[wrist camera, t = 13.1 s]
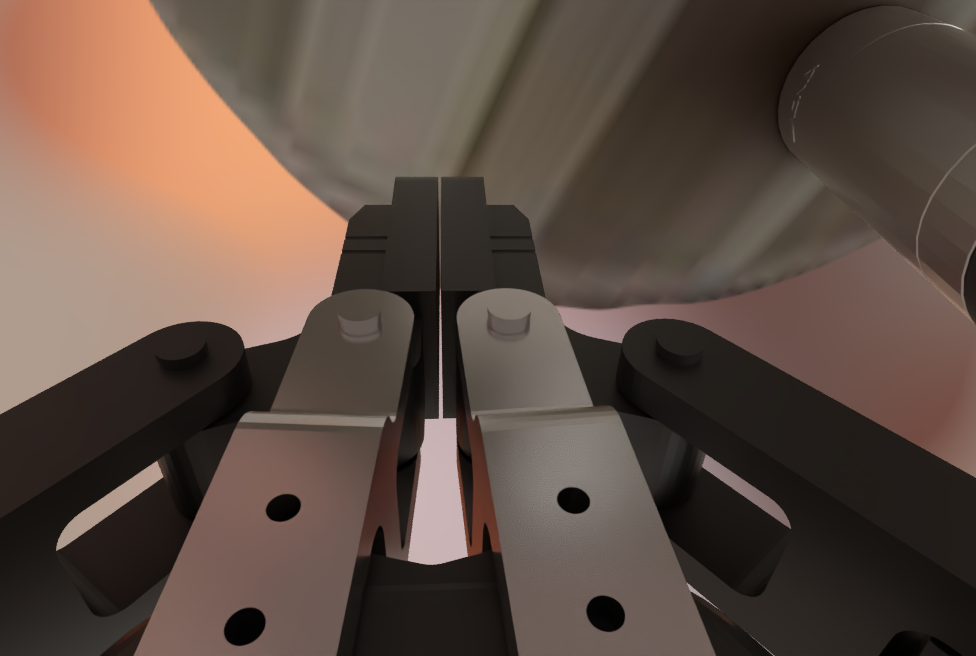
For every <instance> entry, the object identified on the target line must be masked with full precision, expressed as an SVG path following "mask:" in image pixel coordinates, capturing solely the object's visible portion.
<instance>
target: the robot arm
mask: <svg viewBox="0 0 976 656" xmlns="http://www.w3.org/2000/svg"><path fill="white" fill-rule="evenodd" d="M778 126H779V129H780V133H781V136H782V139H783V141H784V143H785V144H786V146H787V147H788V149H789V151H791V152H792V153H793V154H794V155H795V156H796V157H797V158H798V159H799V160H800V161H801V162H802V163H803V164H804V165H805V166H806V167H807V168H808V169H810V170H811V171H812V172H813V173H814V174H815V175H816V176H817V177H818V178H819V179H820V180H821V181H822V182H823V183H824V184H825V185H826V186H827V187H828V188H829V189H830V190H831V191H832V192H833V193H834V194H836V195H837V196H838V197H839V198H840V199H841V200H842V201H843V202H844V203H845V204H846V205H847V206H848V207H849V208H851V209H852V210H853V211H854V212H855V213H856V214H857V215H858V216H859V217H860V218H861V219H862V220H863V221H864V222H866V223H867V224H868V225H869V226H870V227H871V228H872V229H873V230H874V231H875V232H876V233H877V234H878V235H879V236H881V237H882V238H883V239H884V240H885V241H886V242H887V243H888V244H889V245H890V246H891V247H892V248H893V249H895V250H896V251H897V252H898V253H899V254H900V255H901V256H902V257H903V258H904V259H905V260H906V261H907V262H909V263H910V264H911V265H912V266H913V267H914V268H915V269H916V270H917V271H918V272H919V273H920V274H921V275H922V276H923V277H924V278H926V279H927V280H928V281H929V282H930V283H931V284H932V285H933V286H935V287H936V288H937V289H938V290H939V291H940V292H941V293H942V294H943V295H944V296H945V297H946V298H947V299H948V300H950V301H951V302H952V303H953V304H954V305H955V306H956V307H957V308H958V309H959V310H960V311H961V312H962V313H963V314H965V315H966V316H967V317H968V318H969V319H970V320H971V321H972V322H973V323H974V324H975V325H976V35H974V34H972V33H969V32H967V31H964V30H962V29H960V28H958V27H955V26H953V25H950V24H948V23H945V22H943V21H940V20H938V19H935V18H933V17H930V16H928V15H925V14H922V13H920V12H917V11H915V10H912V9H908V8H905V7H901V6H877V7H872V8H867V9H863V10H861V11H858V12H856V13H853V14H851V15H848V16H846V17H844V18H843V19H841V20H839V21H838V22H836V23H835V24H833V25H831V26H830V27H828V28H827V29H826V30H825V31H823V32H822V33H821V34H820V35H819V36H818V37H817V38H815V39H814V40H813V41H812V42H811V43H810V44H809V45H808V47H807V48H806V49H805V50H804V51H803V53H802V54H801V55H800V56H799V57H798V59H797V60H796V62H795V64H794V65H793V67H792V69H791V70H790V72H789V74H788V76H787V78H786V81H785V83H784V86H783V89H782V91H781V95H780V101H779V106H778ZM345 238H346V239H345V240H344V245H343V249H342V254H341V257H340V262H339V266H338V270H337V274H336V279H335V283H334V287H333V291H332V296H331V297H329V298H326V299H325V300H323V301H321V302H320V303H319V304H317V305H316V306H315V307H314V309H313V310H312V311H311V312H310V314H309V316H308V318H307V320H306V323H305V325H304V328H303V330H302V333H301V334H299V335H297V336H294V337H291V338H289V339H286V340H282V341H278V342H274V343H269V344H265V345H260V346H255V347H251V348H246V349H245V348H244V344H243V341H242V338H241V337H240V335H239V334H238V333H237V332H236V331H235V330H233V329H232V328H230V327H228V326H226V325H222V324H219V323H214V322H200V321H197V322H187V323H181V324H176V325H172V326H169V327H166V328H163V329H161V330H158V331H155V332H153V333H151V334H149V335H147V336H146V337H144V338H142V339H140V340H138V341H136V342H134V343H132V344H131V345H129V346H127V347H125V348H123V349H121V350H119V351H118V352H116V353H114V354H112V355H110V356H108V357H106V358H105V359H103V360H101V361H99V362H97V363H95V364H93V365H92V366H90V367H88V368H86V369H84V370H82V371H80V372H79V373H77V374H75V375H73V376H71V377H69V378H67V379H66V380H64V381H62V382H60V383H58V384H56V385H54V386H52V387H51V388H49V389H47V390H45V391H43V392H41V393H39V394H38V395H36V396H34V397H32V398H30V399H28V400H26V401H25V402H23V403H21V404H19V405H17V406H15V407H13V408H11V409H10V410H8V411H6V412H4V413H2V414H0V656H773V655H775V656H976V478H975V477H973V476H971V475H970V474H968V473H966V472H964V471H962V470H961V469H959V468H957V467H955V466H953V465H951V464H950V463H948V462H946V461H944V460H943V459H941V458H939V457H937V456H935V455H933V454H931V453H930V452H928V451H926V450H925V449H923V448H921V447H919V446H917V445H916V444H914V443H912V442H910V441H908V440H906V439H905V438H903V437H901V436H899V435H897V434H896V433H894V432H892V431H890V430H888V429H887V428H885V427H883V426H881V425H879V424H877V423H876V422H874V421H872V420H870V419H869V418H866V417H865V416H863V415H861V414H860V413H858V412H856V411H854V410H852V409H850V408H849V407H847V406H845V405H843V404H841V403H840V402H838V401H836V400H834V399H833V398H831V397H829V396H827V395H825V394H823V393H822V392H820V391H818V390H816V389H814V388H812V387H811V386H809V385H807V384H805V383H803V382H802V381H800V380H798V379H796V378H794V377H792V376H791V375H789V374H787V373H786V372H784V371H782V370H780V369H778V368H776V367H774V366H773V365H771V364H769V363H768V362H766V361H764V360H762V359H760V358H758V357H757V356H755V355H753V354H751V353H749V352H748V351H746V350H744V349H742V348H740V347H739V346H737V345H735V344H733V343H731V342H730V341H728V340H726V339H724V338H722V337H721V336H719V335H717V334H715V333H713V332H712V331H710V330H708V329H706V328H704V327H701V326H699V325H696V324H693V323H690V322H686V321H682V320H675V319H654V320H648V321H645V322H641V323H639V324H637V325H635V326H633V327H632V328H631V329H629V330H628V332H627V333H626V334H625V336H624V338H623V341H622V343H617V342H612V341H607V340H602V339H597V338H593V337H589V336H586V335H583V334H580V333H577V332H575V331H573V330H571V329H569V328H568V327H566V326H564V324H563V321H562V319H561V316H560V313H559V312H558V310H557V308H556V307H555V306H554V305H553V304H552V303H551V302H550V301H548V300H547V299H546V298H545V293H544V289H543V284H542V279H541V275H540V270H539V265H538V261H537V256H536V253H535V247H534V242H533V239H532V233H531V228H530V223H529V219H528V218H527V217H525V216H524V215H523V214H522V213H521V212H520V211H519V210H518V209H517V208H516V207H515V206H514V205H486V197H485V188H484V179H483V177H442V178H441V316H442V317H441V319H442V379H443V418H456V433H457V469H458V478H459V486H460V494H461V503H462V511H463V519H464V527H465V535H466V544H467V553H468V557H465V558H461V559H458V560H454V561H450V562H446V563H442V564H437V565H426V564H419V563H415V562H410V561H408V554H409V546H410V539H411V532H412V523H413V517H414V509H415V502H416V494H417V487H418V478H419V472H420V463H421V454H420V447H421V446H422V443H423V440H424V424H425V423H424V422H425V419H438V418H439V304H440V301H439V300H440V299H439V298H440V297H439V296H440V270H439V209H438V177H396V178H395V184H394V192H393V199H392V205H365V206H364V207H362V208H361V209H360V210H359V211H358V212H357V213H356V214H355V215H354V216H353V217H352V218H351V219H349V223H348V227H347V232H346V237H345ZM706 454H707V455H708V456H710V457H712V458H713V459H714V460H716V461H717V462H719V463H720V464H722V465H723V466H724V467H726V468H727V469H729V470H731V471H732V472H733V473H735V474H736V475H738V476H739V477H741V478H742V479H743V480H745V481H746V482H748V483H749V484H751V485H752V486H754V487H755V488H757V489H758V490H759V491H761V492H763V493H764V494H765V495H767V496H768V497H770V498H771V499H772V500H774V501H775V502H776V503H777V504H778V505H779V506H780V507H781V508H782V510H783V511H784V513H785V514H786V516H787V518H788V520H789V522H790V525H791V529H790V528H788V527H787V526H785V525H784V524H782V523H781V522H780V521H778V520H777V519H775V518H774V517H772V516H771V515H769V514H768V513H766V512H765V511H764V510H762V509H761V508H759V507H758V506H757V505H755V504H754V503H752V502H751V501H750V500H748V499H747V498H745V497H744V496H742V495H741V494H740V493H738V492H737V491H735V490H733V489H732V488H731V487H730V486H728V485H727V484H725V483H724V482H722V481H721V480H720V479H718V478H717V477H715V476H714V475H713V474H711V473H710V472H708V471H707V470H705V469H704V468H703V467H702V464H703V461H704V458H705V455H706ZM156 461H157V462H158V464H159V467H160V468H161V472H162V474H163V478H162V479H160V480H159V481H157V482H156V483H155V484H153V485H152V486H150V487H149V488H148V489H146V490H145V491H143V492H142V493H140V494H139V495H138V496H136V497H135V498H133V499H132V500H130V501H129V502H128V503H126V504H125V505H123V506H122V507H121V508H119V509H118V510H116V511H115V512H114V513H112V514H111V515H109V516H108V517H106V518H105V519H103V520H102V521H101V522H99V523H98V524H96V525H95V526H94V527H92V528H91V529H90V530H88V531H87V532H85V533H84V534H82V535H81V536H79V537H78V538H77V539H75V540H74V541H72V542H71V543H69V544H68V545H66V546H65V547H63V548H62V549H59V550H57V551H56V546H57V542H58V539H59V537H60V535H61V533H62V531H63V530H64V528H65V527H66V526H67V524H68V523H69V522H70V521H71V520H72V519H73V518H74V517H75V516H77V515H78V514H79V513H81V512H82V511H83V510H85V509H86V508H88V507H90V506H91V505H92V504H94V503H95V502H97V501H98V500H100V499H101V498H103V497H104V496H106V495H107V494H109V493H110V492H112V491H113V490H114V489H116V488H117V487H119V486H120V485H122V484H123V483H125V482H126V481H128V480H129V479H131V478H132V477H134V476H135V475H136V474H138V473H139V472H141V471H142V470H144V469H145V468H147V467H148V466H150V465H151V464H153V463H154V462H156ZM687 583H688V584H690V585H691V586H692V587H693V588H694V589H696V590H697V591H698V592H699V593H700V594H701V595H703V596H704V597H705V598H706V599H707V600H709V601H710V602H711V603H712V604H713V605H715V606H716V607H717V608H718V609H717V608H716V607H714V606H713V605H712V604H710V603H709V602H707V601H706V600H704V599H703V598H701V597H699V596H698V595H696V594H694V593H692V592H691V591H690V590H689V587H688V585H687ZM720 610H721V611H720ZM744 630H745V631H744ZM750 635H751V636H752V637H753V638H754V639H753V638H752V637H751V636H750ZM756 640H757V641H758V642H759V643H760V644H761V645H763V646H764V647H765V648H766V649H767V650H769V651H770V652H771V653H772V654H773V655H772V654H770V653H769V652H768V651H767V650H766V649H765V648H764V647H763V646H761V645H760V644H759V643H758V642H757V641H756Z"/></svg>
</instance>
